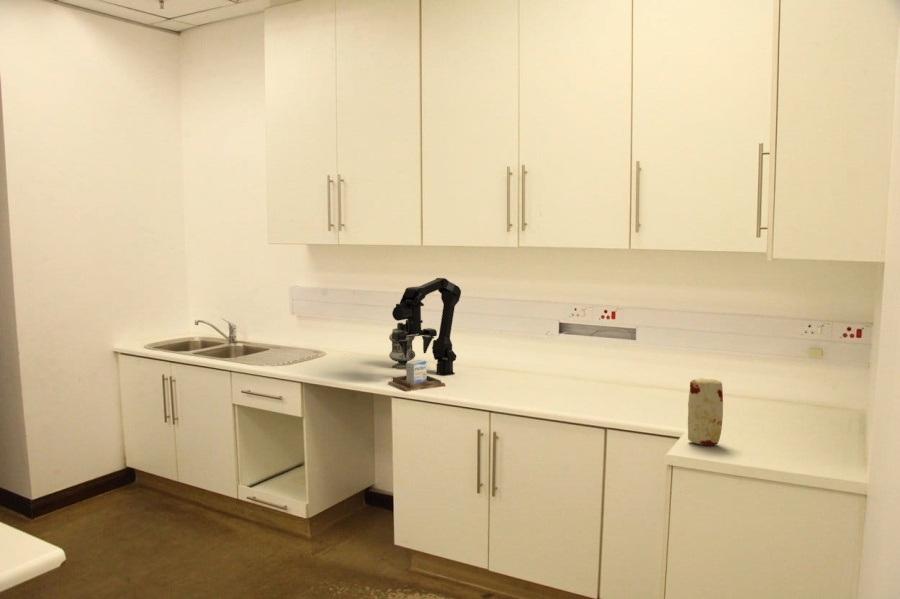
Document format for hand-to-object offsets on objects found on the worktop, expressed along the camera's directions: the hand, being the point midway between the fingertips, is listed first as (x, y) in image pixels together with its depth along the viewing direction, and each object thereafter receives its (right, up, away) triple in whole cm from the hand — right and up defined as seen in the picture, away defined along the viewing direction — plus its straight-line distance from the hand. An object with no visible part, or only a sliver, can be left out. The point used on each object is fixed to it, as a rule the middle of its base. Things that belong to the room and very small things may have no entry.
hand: (415, 354), depth 295 cm
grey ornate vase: (-7, -9, +33) cm, 35 cm away
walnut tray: (+1, -12, -5) cm, 13 cm away
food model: (+90, -20, -86) cm, 126 cm away
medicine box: (+1, -11, -4) cm, 12 cm away
